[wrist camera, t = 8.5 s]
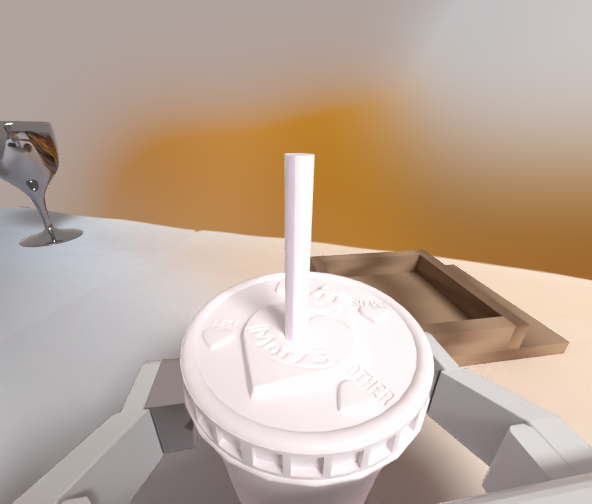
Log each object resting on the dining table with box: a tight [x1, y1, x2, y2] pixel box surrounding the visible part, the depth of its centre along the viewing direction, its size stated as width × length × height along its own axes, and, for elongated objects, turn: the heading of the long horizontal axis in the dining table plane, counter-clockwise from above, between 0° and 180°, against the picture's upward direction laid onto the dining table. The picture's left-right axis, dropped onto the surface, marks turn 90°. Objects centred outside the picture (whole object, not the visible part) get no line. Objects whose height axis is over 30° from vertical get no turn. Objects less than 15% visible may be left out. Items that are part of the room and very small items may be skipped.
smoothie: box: [180, 153, 434, 504], centre depth 8 cm, size 6×6×14 cm
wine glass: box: [0, 121, 83, 247], centre depth 36 cm, size 8×8×15 cm
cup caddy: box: [310, 250, 569, 366], centre depth 23 cm, size 20×12×3 cm, turn 99°
